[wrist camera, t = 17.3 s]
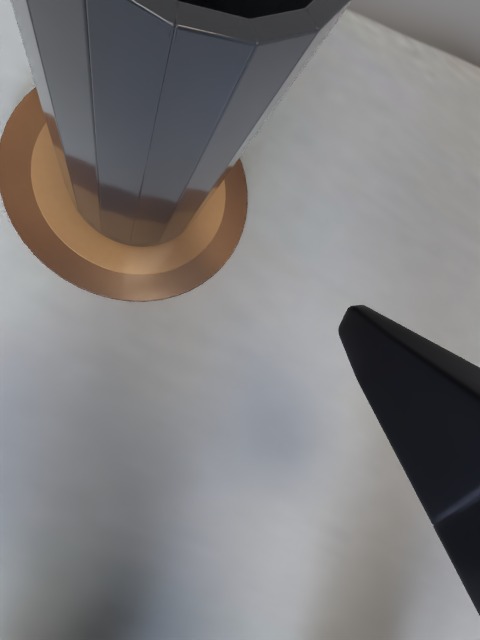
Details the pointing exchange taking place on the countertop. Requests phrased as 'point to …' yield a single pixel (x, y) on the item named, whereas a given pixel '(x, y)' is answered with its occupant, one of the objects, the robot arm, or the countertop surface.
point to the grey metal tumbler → (161, 97)
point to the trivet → (92, 247)
